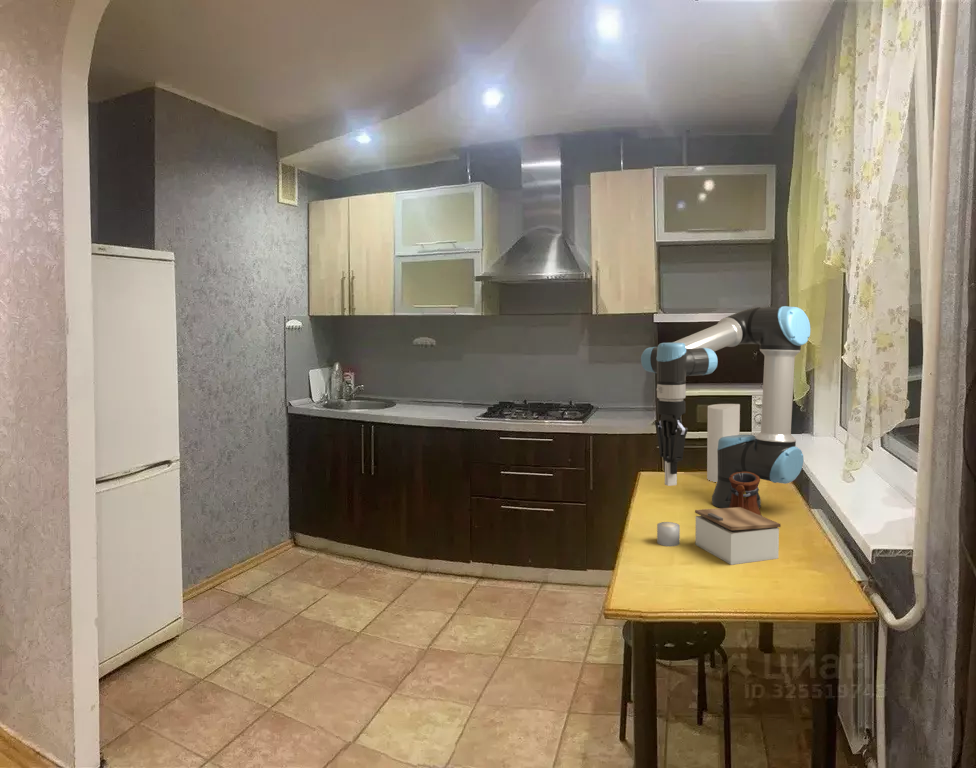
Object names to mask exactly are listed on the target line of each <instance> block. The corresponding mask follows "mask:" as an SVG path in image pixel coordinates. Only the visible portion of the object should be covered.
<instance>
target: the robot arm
mask: <svg viewBox="0 0 976 768" xmlns="http://www.w3.org/2000/svg"><path fill="white" fill-rule="evenodd" d="M810 336H811V324H810V319H809V318H808V315H807V314H806V311H805V312H804V310H803V309H802V308H800V307H797V306H787V305H784V306H770V307H769V306H768V307H767V306H765V307H764V306H763V307H752V308H747V309H743V310H741V311H738V312H735V313H733V314H731V315H728V316H725V317H723V318H721V319H720V320H719V321H718V322H717V324H715V325H712V326H710V327H708V328H705V329H702V330H700V331H697V332H695V333H692V334H690V335H688V336H685V337H682V338H680V339H677V340H676V341H672V342H661V343H659V344H658V345H657V346H653V347H647V348H645V349H644V350H643V351H642V353H641V355H640V356H641V357H640V363H641V367H642V368H643V369H644V371H646V372H648V373H654V374H656V383H657V384H656V398H657V399H658V400H657V401H656V413H657V414H658V415H660V417H659V418H660V419H659V420H658V421H655V423H654V425H655V428H656V433H657V442H658V450H659V451H658V452H659V456H660V458H662V460H663V461H664V485H665V486H668V487H669V486H677V485H678V463H679V462H681V461H683V460H684V459H683V458H684V452H685V451H684V450H685V444H686V437H687V433H688V431H689V430H688V427H684V425H683V420H682V416H683V415H684V414H686V401H685V400H684V399H686V397H687V396H686V395H687V394H686V392H687V391H686V386H687V385H686V380H687V379H686V377H692V376H705V375H710V374H713V372H714V371H715V370H716V369H717V368H718V362H719V361H718V356H717V354H716V351H719V350H721V349H723V348H726V347H729V348H734V347H736V346H738V345H739V346H740V345H759V351H760V352H761V354H763V356H764V361H763V364H764V365H763V380H762V381H763V382H762V397H761V398H762V401H761V403H762V405H761V419H760V421H761V422H760V432H759V433H758V434H757V435H753V434H739V435H733V436H725V437H722V438H720V439H719V441H718V449H717V451H718V481H717V483H715V488H714V490H713V493H712V495H711V504H712V505H713V506H714V507H716V508H718V509H719V508H729V506H730V502H731V495H732V492H731V490H730V486H731V482H730V480H729V477H730V475H732V474H733V473H737V472H751V473H754V474H756V475H757V476H759V478H760V480H765V481H768V482H772V483H775V484H777V483H778V484H790V483H792V482H793V481H795V480H796V479H797V478H798V476H799V475H800V473H801V471H802V469H803V466H804V454H803V451H802V450H801V449H800V447H797V446H796V444H797V443H796V442H797V439H796V438H794V436H793V435H792V420H793V419H792V417H793V416H792V415H793V401H794V398H793V397H794V395H793V394H794V379H795V362H796V361H795V360H796V356H797V355H798V354H799V353H801V348H802V347H801V346H803V345H805V344H806V343H807V342H809V338H810ZM756 495H757V504H758V507H759V509H760V508H761V506H762V505H761V504H762V503H761V502H762V500H761V497H760V494H759V492H758V493H757V494H756Z"/></svg>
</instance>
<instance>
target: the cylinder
mask: <svg viewBox="0 0 976 768" xmlns="http://www.w3.org/2000/svg"><path fill="white" fill-rule="evenodd" d="M740 411H741V404H740V403H717V404H710V405H707V427H706V428H707V429H706V431H707V433H706V434H707V439H706V441H707V442H706V443H707V445H706V446H707V449H706V450H707V453H706V456H707V457H706V459H707V462H706V464H707V465H706V467H707V468H706V469H707V470H706V480H707V479H708V481H709V480H710V481H709V482H711V481H713V482H717V481H718V451H717V449H718V441H719V439H720V438H722V437H725V436H733V435H741V434H740V429H741V428H740V423H741V414H740V413H741V412H740ZM713 482H712V483H713Z"/></svg>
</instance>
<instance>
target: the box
mask: <svg viewBox="0 0 976 768" xmlns="http://www.w3.org/2000/svg"><path fill="white" fill-rule="evenodd" d="M779 534H780V527H774V528H759V529H745V530H730V529H727V528H725V527H723V526H721V525H719V524H717V523H715V522H713V521H711V520H709V519H707V518H705V517H703V516H701V515H696V516H695V546H697V547H699V548H700V549H702V550H704V551H706V552H707V553H709V554H711V555H712V556H714V557H716V558H718V559H720V561H721V560H722V561H724V562H725V563H727V564H729V565H731V566H732V565H738V564H739V565H740V564H741V565H742V564H748V563H754V562H761V561H769V560H776V559H779V549H780V548H779V546H780V545H779V543H780V542H779V539H780V537H779V536H780V535H779Z"/></svg>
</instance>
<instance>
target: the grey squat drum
mask: <svg viewBox="0 0 976 768" xmlns="http://www.w3.org/2000/svg"><path fill="white" fill-rule="evenodd" d="M656 525H657V526H656V529H657V530H656V531H657V536H656V537H657V538H656V540H657V541H656V542H657V544H658V545H660V546H664V547H676V546H679V545H680V539H681V538H680V537H681V536H680V535H681V532H680V531H681V529H680V524H679V523H676V522H671V521H663V522H662V521H661V522H658V523H657V524H656Z"/></svg>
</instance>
